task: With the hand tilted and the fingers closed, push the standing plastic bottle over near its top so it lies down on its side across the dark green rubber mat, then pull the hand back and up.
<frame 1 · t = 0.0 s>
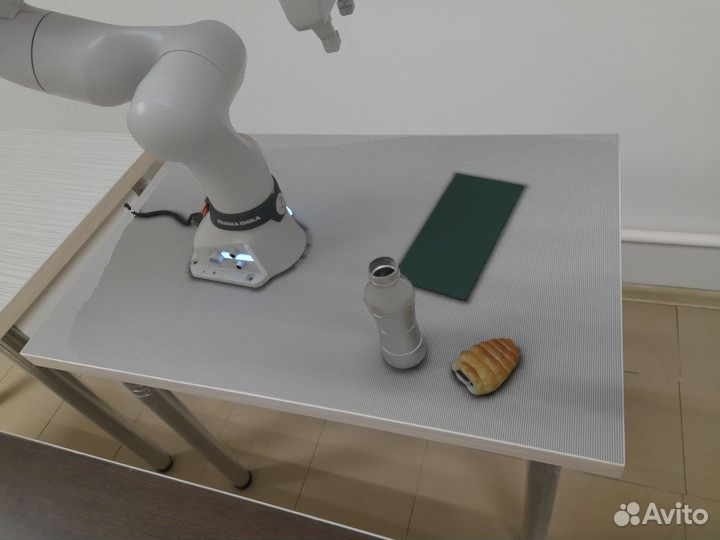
hand: (341, 30, 64), 39 cm above the table, tool pointing down, fingers open, 8 cm apart
pastry: (484, 370, 73), on the table
plastic bottle: (405, 355, 77), on the table
mat: (460, 231, 91), on the table
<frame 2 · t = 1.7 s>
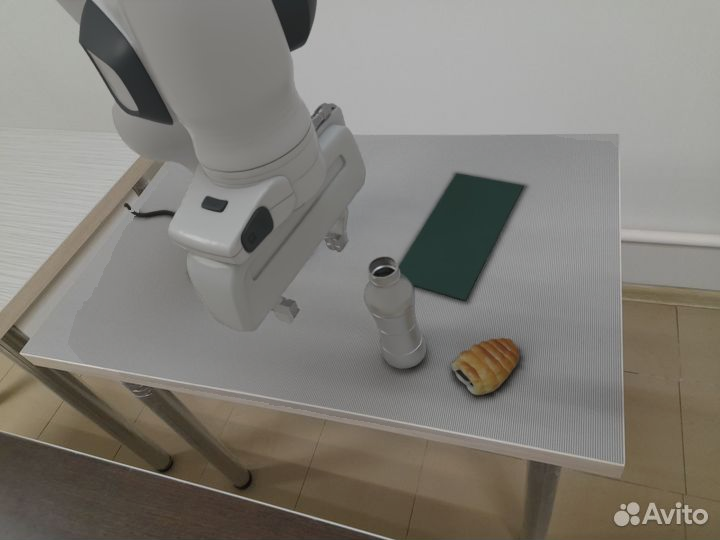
hand: (315, 279, 50), 29 cm above the table, tool pointing down, fingers open, 8 cm apart
nothing on the table moved.
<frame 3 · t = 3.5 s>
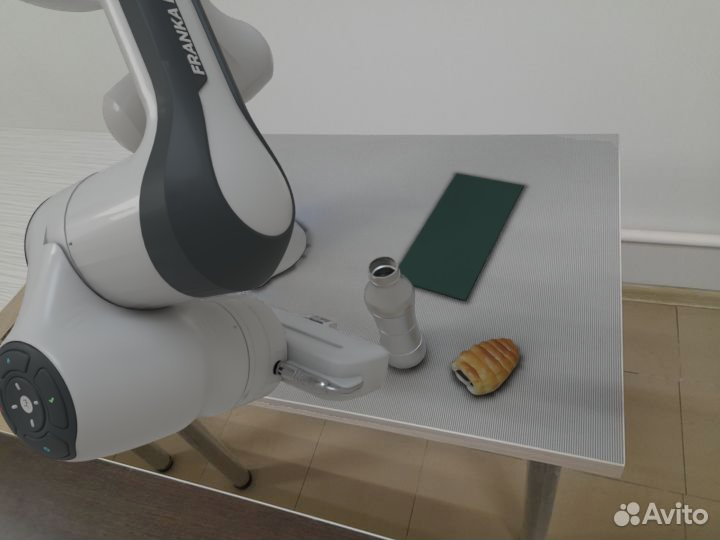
hand: (324, 326, 54), 24 cm above the table, tool tilted 45°, fingers closed
nothing on the table moved.
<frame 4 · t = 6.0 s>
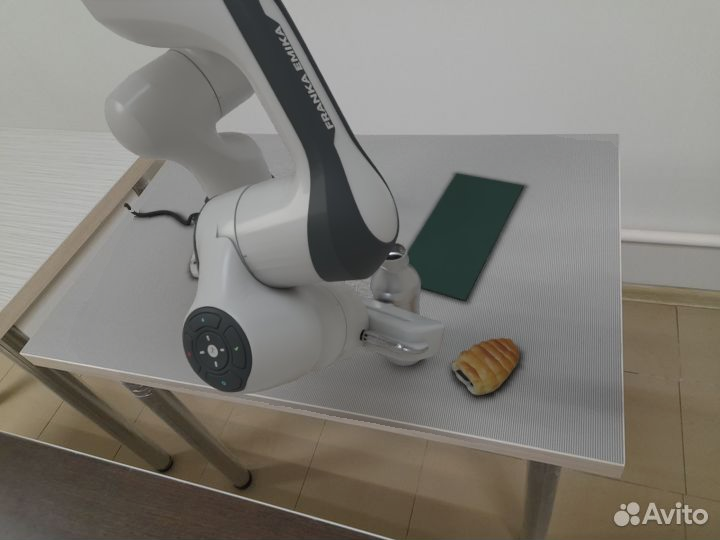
hand: (383, 307, 66), 14 cm above the table, tool tilted 45°, fingers closed, pressing on plastic bottle
plastic bottle: (405, 354, 77), on the table, touching gripper
everything else where it was.
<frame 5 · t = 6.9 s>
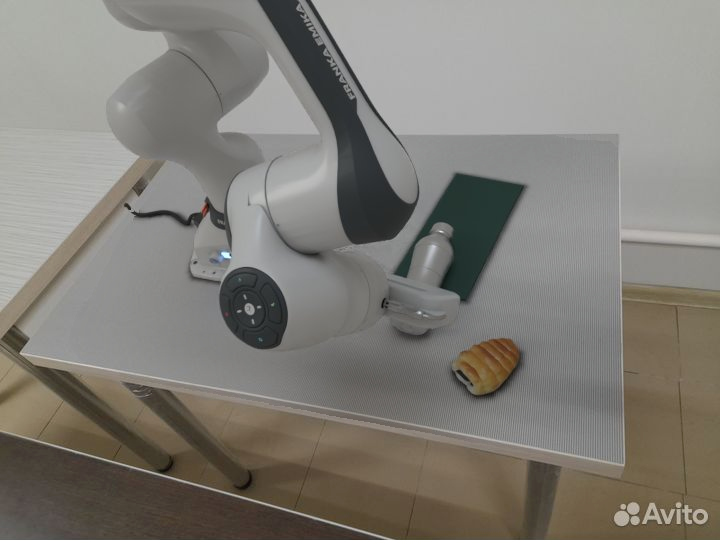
hand: (399, 282, 69), 14 cm above the table, tool tilted 45°, fingers closed
plastic bottle: (405, 329, 76), point 3 cm above the table, touching mat
everything else where it was.
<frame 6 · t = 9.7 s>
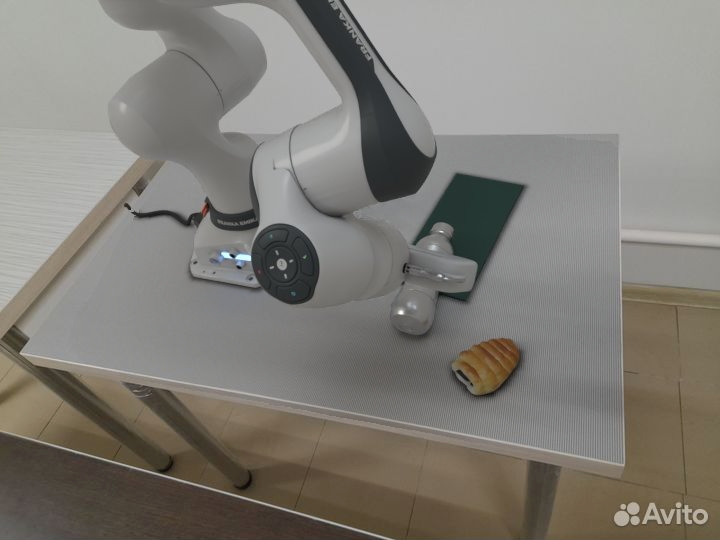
hand: (415, 255, 70), 14 cm above the table, tool tilted 45°, fingers closed
nothing on the table moved.
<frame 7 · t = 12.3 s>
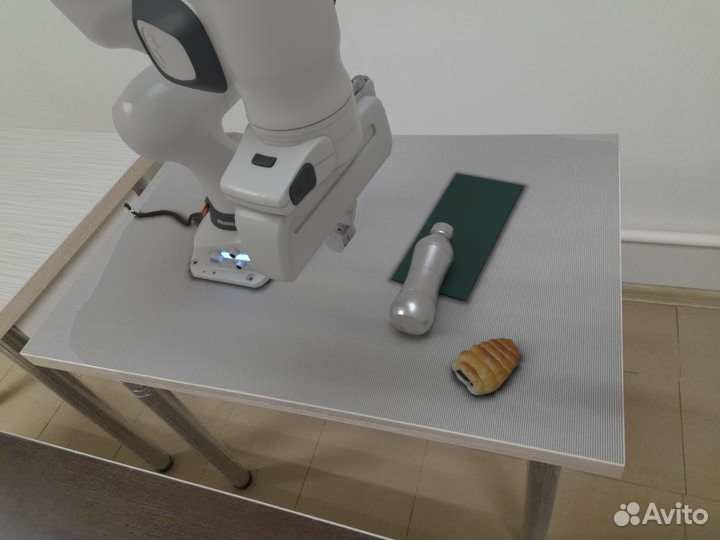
hand: (343, 241, 54), 29 cm above the table, tool pointing down, fingers closed
nothing on the table moved.
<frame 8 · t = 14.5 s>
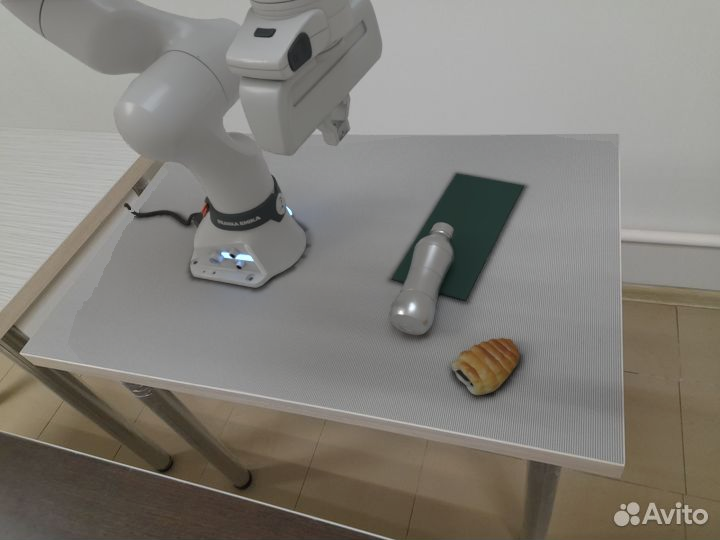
hand: (338, 137, 59), 33 cm above the table, tool pointing down, fingers closed
nothing on the table moved.
at the end: plastic bottle tilted 89°; plastic bottle touching mat, table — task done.
